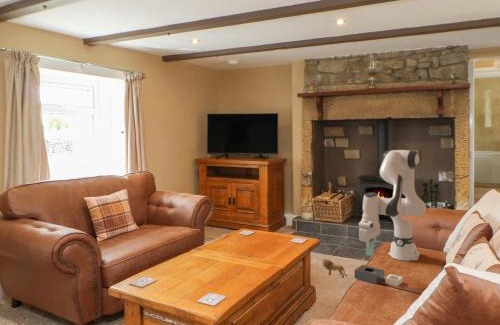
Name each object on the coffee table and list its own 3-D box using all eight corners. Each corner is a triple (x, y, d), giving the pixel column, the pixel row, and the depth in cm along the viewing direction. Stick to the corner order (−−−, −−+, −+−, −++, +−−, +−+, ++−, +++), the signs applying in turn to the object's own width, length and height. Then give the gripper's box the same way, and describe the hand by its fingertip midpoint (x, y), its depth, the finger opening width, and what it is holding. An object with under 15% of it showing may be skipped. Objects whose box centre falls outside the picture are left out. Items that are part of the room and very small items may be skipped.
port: (362, 273, 231) (362, 264, 230) (383, 278, 223) (384, 269, 222) (354, 278, 223) (354, 269, 223) (376, 284, 215) (376, 274, 214)
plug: (368, 253, 223) (368, 238, 223) (373, 254, 222) (373, 239, 221) (366, 254, 221) (366, 239, 220) (371, 255, 219) (371, 240, 218)
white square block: (390, 279, 222) (390, 274, 221) (402, 282, 217) (402, 277, 217) (385, 283, 216) (385, 277, 216) (397, 286, 212) (398, 281, 212)
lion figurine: (321, 275, 229) (321, 260, 228) (323, 271, 234) (323, 257, 233) (346, 278, 223) (347, 263, 222) (348, 275, 228) (348, 260, 227)
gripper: (372, 217, 229) (372, 240, 231) (357, 224, 214) (356, 249, 215) (383, 219, 225) (382, 242, 227) (368, 226, 210) (367, 251, 211)
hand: (369, 245), depth 221 cm, fingers closed on plug, 3 cm apart
